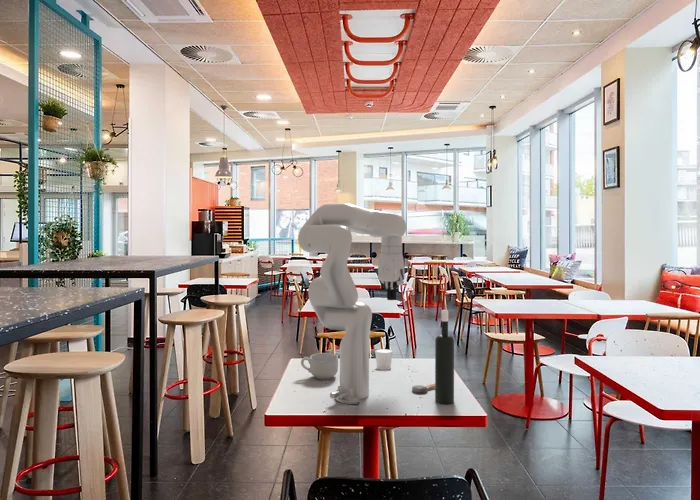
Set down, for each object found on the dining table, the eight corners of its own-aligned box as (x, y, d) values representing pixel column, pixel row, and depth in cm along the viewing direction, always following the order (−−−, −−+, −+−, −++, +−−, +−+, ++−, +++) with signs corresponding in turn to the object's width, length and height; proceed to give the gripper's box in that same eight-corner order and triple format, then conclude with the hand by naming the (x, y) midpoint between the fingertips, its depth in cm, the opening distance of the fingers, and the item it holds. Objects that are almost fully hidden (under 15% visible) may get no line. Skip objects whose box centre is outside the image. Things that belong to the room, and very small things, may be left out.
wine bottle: (454, 409, 155) (454, 311, 154) (435, 408, 156) (435, 311, 155) (453, 403, 161) (453, 308, 160) (435, 402, 162) (435, 308, 161)
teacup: (341, 374, 194) (340, 353, 194) (335, 382, 184) (335, 360, 183) (305, 372, 197) (305, 352, 196) (298, 380, 186) (297, 358, 186)
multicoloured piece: (419, 394, 165) (419, 382, 165) (409, 390, 169) (409, 378, 169) (446, 387, 173) (446, 375, 172) (436, 384, 177) (436, 372, 176)
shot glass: (392, 366, 206) (392, 348, 206) (392, 370, 199) (392, 352, 199) (375, 365, 207) (375, 348, 206) (374, 370, 200) (374, 352, 200)
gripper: (370, 250, 192) (370, 298, 193) (399, 251, 181) (399, 302, 181) (384, 250, 197) (384, 297, 197) (413, 251, 185) (413, 300, 186)
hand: (391, 299), depth 189 cm, fingers closed
